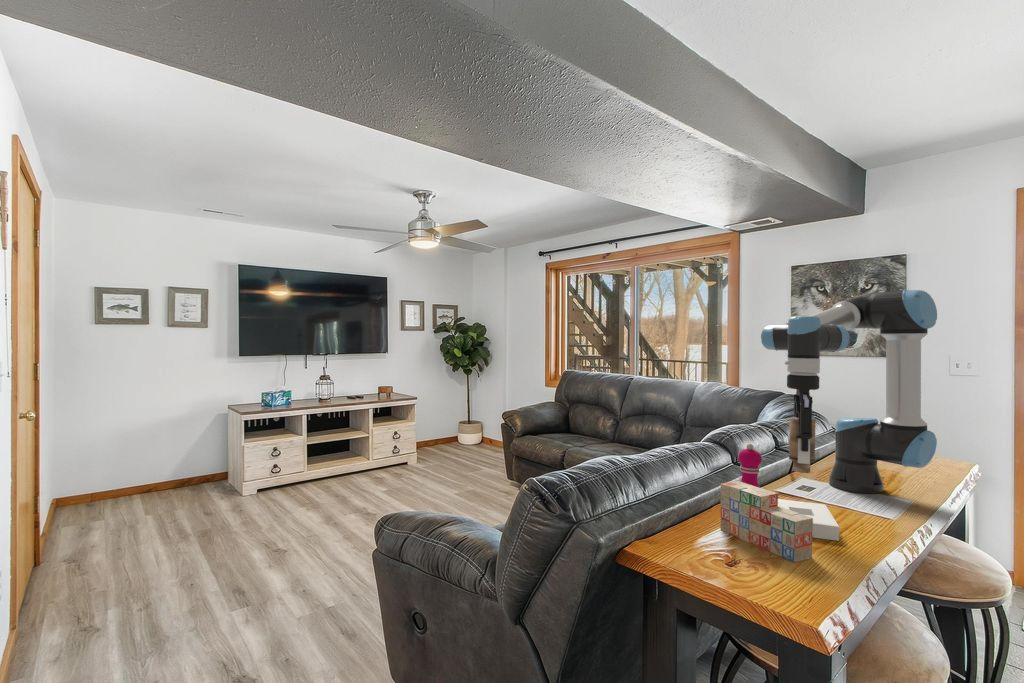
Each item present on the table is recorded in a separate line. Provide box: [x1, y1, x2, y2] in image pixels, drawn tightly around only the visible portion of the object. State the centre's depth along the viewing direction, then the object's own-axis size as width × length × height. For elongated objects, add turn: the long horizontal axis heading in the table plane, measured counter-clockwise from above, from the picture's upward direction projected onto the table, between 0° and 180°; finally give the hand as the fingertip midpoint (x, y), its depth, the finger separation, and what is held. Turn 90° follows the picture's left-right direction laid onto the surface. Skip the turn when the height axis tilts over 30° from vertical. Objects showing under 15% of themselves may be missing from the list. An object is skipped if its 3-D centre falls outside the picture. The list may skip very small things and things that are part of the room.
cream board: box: [778, 498, 840, 542], centre depth 136 cm, size 14×18×4 cm
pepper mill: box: [737, 443, 762, 488], centre depth 143 cm, size 7×7×20 cm
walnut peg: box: [788, 416, 816, 474], centre depth 136 cm, size 6×6×14 cm
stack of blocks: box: [719, 480, 813, 563], centre depth 124 cm, size 21×6×12 cm, turn 23°
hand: (801, 460), depth 136 cm, fingers closed on walnut peg, 6 cm apart
